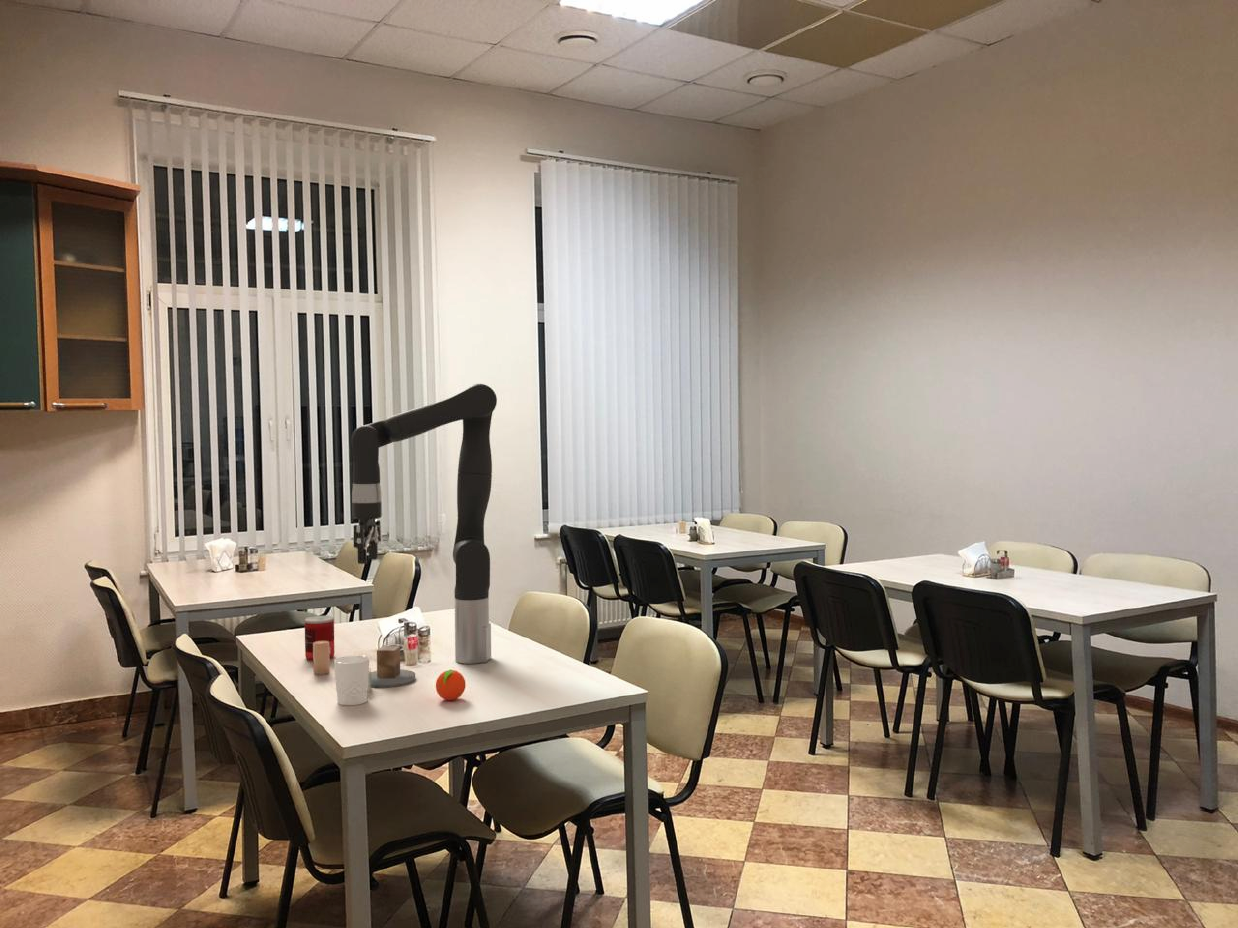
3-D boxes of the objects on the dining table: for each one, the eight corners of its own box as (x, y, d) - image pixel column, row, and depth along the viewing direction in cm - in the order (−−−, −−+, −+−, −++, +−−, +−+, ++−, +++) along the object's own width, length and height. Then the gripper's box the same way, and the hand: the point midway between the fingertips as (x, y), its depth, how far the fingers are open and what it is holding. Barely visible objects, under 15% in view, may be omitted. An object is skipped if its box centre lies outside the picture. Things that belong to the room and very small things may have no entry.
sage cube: (370, 688, 238) (370, 667, 238) (369, 693, 233) (368, 673, 233) (349, 689, 237) (349, 668, 237) (347, 694, 232) (347, 674, 232)
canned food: (338, 654, 273) (338, 615, 272) (327, 661, 265) (326, 621, 264) (312, 653, 273) (311, 615, 273) (300, 660, 265) (299, 621, 265)
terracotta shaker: (332, 671, 254) (331, 640, 254) (326, 675, 250) (325, 644, 250) (317, 670, 255) (316, 640, 254) (311, 674, 251) (310, 644, 250)
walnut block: (400, 673, 247) (399, 646, 246) (394, 678, 242) (394, 650, 242) (383, 673, 247) (382, 646, 247) (377, 677, 243) (376, 650, 242)
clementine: (458, 705, 222) (458, 675, 222) (429, 704, 224) (429, 673, 223) (469, 696, 230) (469, 666, 230) (441, 694, 232) (441, 665, 231)
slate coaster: (421, 674, 251) (421, 669, 251) (406, 687, 238) (406, 682, 238) (372, 673, 252) (372, 668, 252) (354, 686, 239) (354, 681, 239)
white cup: (337, 708, 221) (336, 664, 221) (332, 699, 228) (332, 657, 228) (372, 704, 224) (371, 661, 224) (367, 695, 232) (366, 653, 231)
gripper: (371, 502, 250) (372, 565, 251) (389, 498, 264) (390, 557, 265) (343, 502, 251) (344, 565, 252) (362, 498, 265) (363, 557, 266)
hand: (367, 561), depth 258 cm, fingers open, 8 cm apart
